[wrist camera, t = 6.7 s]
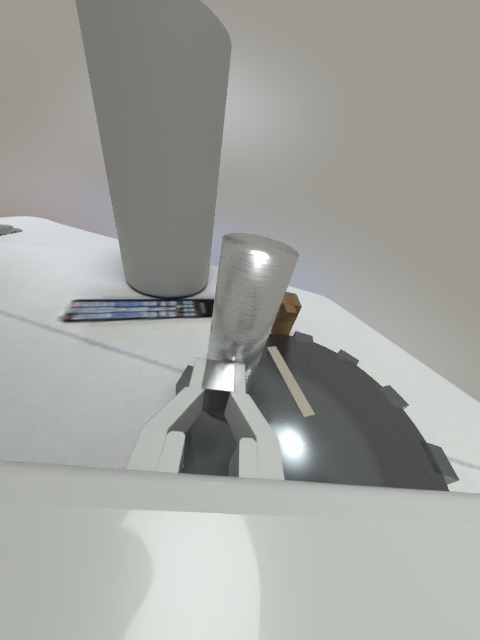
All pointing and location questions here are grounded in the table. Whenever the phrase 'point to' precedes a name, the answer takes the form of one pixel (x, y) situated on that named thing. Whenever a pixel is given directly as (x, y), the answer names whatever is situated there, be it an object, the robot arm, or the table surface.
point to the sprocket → (303, 389)
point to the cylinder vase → (159, 132)
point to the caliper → (8, 229)
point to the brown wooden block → (286, 314)
